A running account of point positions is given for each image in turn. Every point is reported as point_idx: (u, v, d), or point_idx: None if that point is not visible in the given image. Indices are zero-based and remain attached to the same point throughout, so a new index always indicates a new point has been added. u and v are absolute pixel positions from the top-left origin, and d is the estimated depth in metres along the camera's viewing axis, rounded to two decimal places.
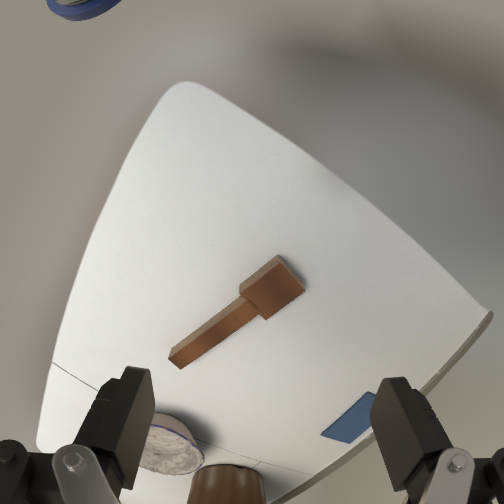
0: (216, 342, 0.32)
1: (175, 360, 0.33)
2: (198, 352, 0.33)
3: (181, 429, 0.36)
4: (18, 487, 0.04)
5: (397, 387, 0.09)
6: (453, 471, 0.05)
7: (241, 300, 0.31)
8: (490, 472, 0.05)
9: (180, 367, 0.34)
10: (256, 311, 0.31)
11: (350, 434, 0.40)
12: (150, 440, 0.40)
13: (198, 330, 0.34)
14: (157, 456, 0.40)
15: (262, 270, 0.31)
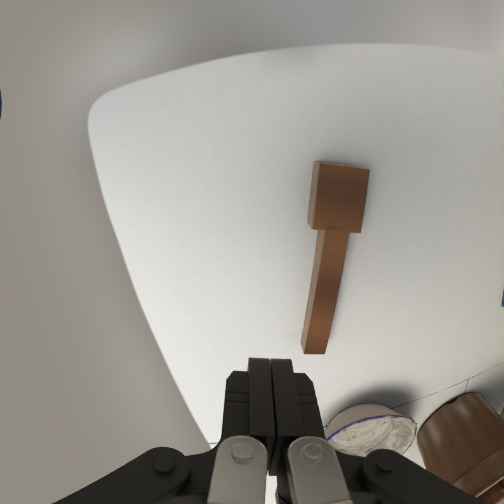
0: (333, 297, 0.26)
1: (312, 349, 0.27)
2: (326, 322, 0.27)
3: (372, 410, 0.30)
4: (158, 500, 0.05)
5: (277, 368, 0.10)
6: (302, 460, 0.06)
7: (321, 234, 0.25)
8: (368, 485, 0.06)
9: (322, 352, 0.28)
10: (344, 231, 0.24)
11: None
12: (353, 442, 0.34)
13: (309, 300, 0.27)
14: None
15: (313, 188, 0.24)
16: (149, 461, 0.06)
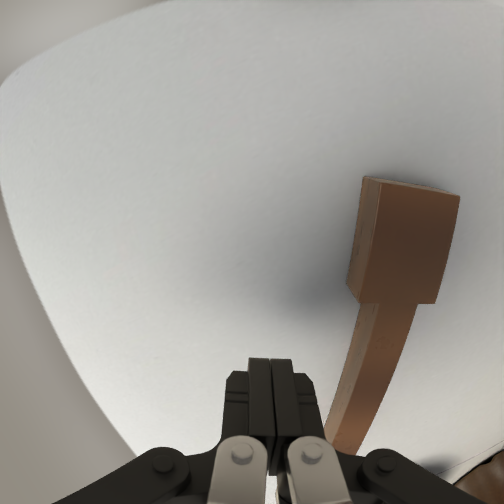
0: (379, 396, 0.15)
1: None
2: (363, 426, 0.15)
3: None
4: (158, 500, 0.05)
5: (277, 368, 0.10)
6: (302, 460, 0.06)
7: (372, 307, 0.13)
8: (368, 485, 0.06)
9: None
10: (410, 304, 0.13)
11: None
12: None
13: (338, 395, 0.16)
14: None
15: (363, 227, 0.13)
16: (149, 461, 0.06)
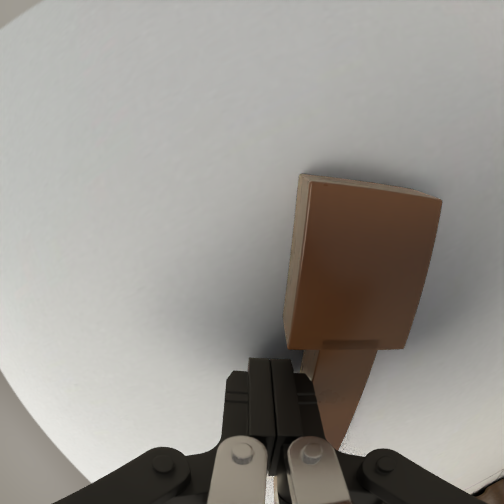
0: None
1: None
2: None
3: None
4: (158, 500, 0.05)
5: (277, 368, 0.10)
6: (302, 460, 0.06)
7: (313, 352, 0.10)
8: (368, 485, 0.06)
9: None
10: (366, 350, 0.09)
11: None
12: None
13: None
14: None
15: (295, 245, 0.09)
16: (149, 461, 0.06)
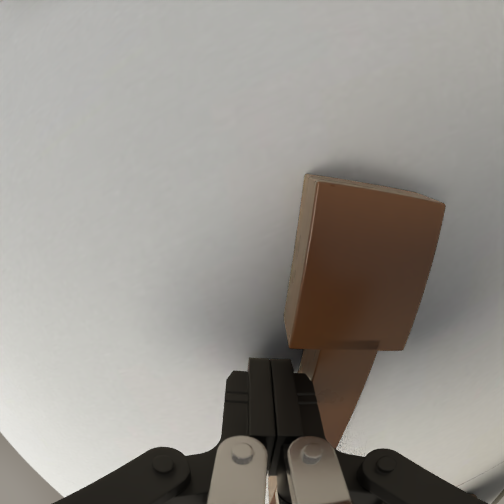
0: None
1: None
2: None
3: None
4: (158, 500, 0.05)
5: (277, 368, 0.10)
6: (301, 460, 0.06)
7: (313, 351, 0.10)
8: (368, 485, 0.06)
9: None
10: (366, 351, 0.09)
11: None
12: None
13: None
14: None
15: (300, 245, 0.09)
16: (149, 461, 0.06)
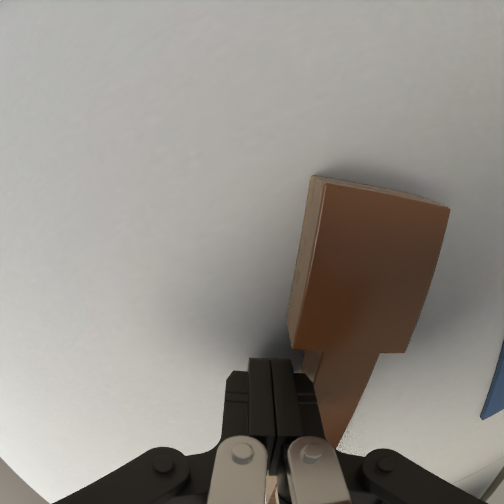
0: None
1: None
2: None
3: None
4: (158, 500, 0.05)
5: (277, 368, 0.10)
6: (302, 460, 0.06)
7: (315, 353, 0.10)
8: (368, 485, 0.06)
9: None
10: (369, 353, 0.09)
11: None
12: None
13: None
14: None
15: (304, 246, 0.09)
16: (149, 461, 0.06)
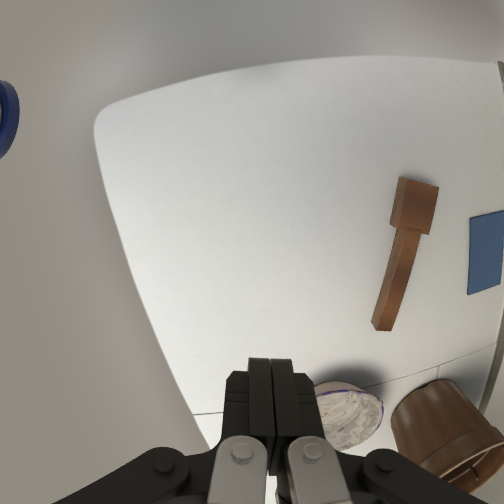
0: (404, 283, 0.31)
1: (383, 326, 0.33)
2: (396, 304, 0.32)
3: (338, 386, 0.34)
4: (158, 500, 0.05)
5: (277, 368, 0.10)
6: (302, 460, 0.06)
7: (401, 233, 0.30)
8: (368, 485, 0.06)
9: (390, 329, 0.33)
10: (418, 232, 0.29)
11: (492, 273, 0.32)
12: (325, 420, 0.39)
13: (383, 286, 0.33)
14: (342, 431, 0.38)
15: (398, 197, 0.29)
16: (149, 461, 0.06)
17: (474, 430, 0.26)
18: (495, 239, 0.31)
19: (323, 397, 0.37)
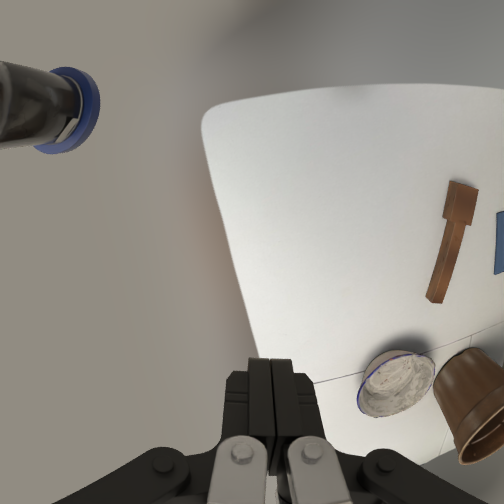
0: (453, 264, 0.37)
1: (436, 299, 0.38)
2: (447, 280, 0.37)
3: (402, 352, 0.40)
4: (158, 500, 0.05)
5: (277, 368, 0.10)
6: (302, 460, 0.06)
7: (452, 224, 0.35)
8: (368, 485, 0.06)
9: (441, 302, 0.38)
10: (463, 224, 0.35)
11: None
12: (385, 386, 0.44)
13: (436, 267, 0.38)
14: (398, 395, 0.44)
15: (450, 196, 0.35)
16: (149, 461, 0.06)
17: None
18: None
19: (386, 364, 0.43)
